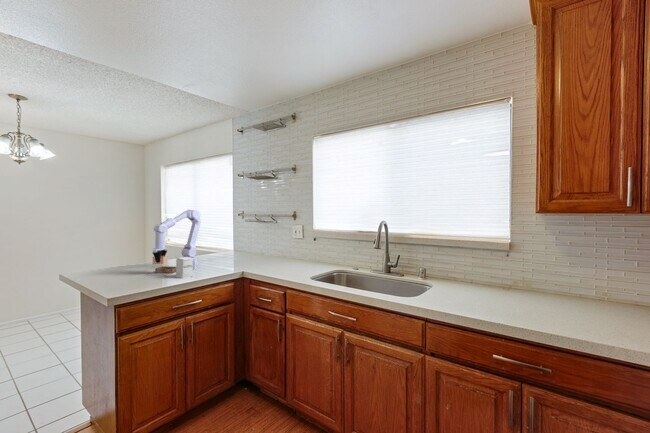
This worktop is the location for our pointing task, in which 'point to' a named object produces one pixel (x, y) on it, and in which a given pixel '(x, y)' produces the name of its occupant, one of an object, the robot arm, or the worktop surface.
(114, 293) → the worktop surface
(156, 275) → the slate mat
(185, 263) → the supplement box
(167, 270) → the walnut crate
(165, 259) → the terracotta crate
